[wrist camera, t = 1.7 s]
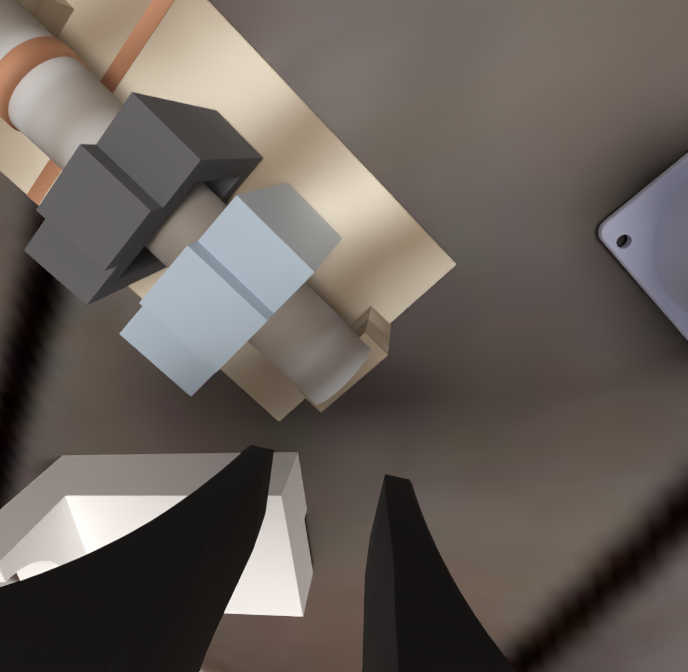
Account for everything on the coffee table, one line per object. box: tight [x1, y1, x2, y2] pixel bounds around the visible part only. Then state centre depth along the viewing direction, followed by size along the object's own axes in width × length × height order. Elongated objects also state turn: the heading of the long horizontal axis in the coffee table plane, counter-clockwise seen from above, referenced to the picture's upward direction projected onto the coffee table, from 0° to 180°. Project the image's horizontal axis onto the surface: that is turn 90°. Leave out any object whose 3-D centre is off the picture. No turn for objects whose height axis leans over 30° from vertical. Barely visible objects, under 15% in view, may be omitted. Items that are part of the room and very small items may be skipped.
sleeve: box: [120, 183, 342, 396], centre depth 17 cm, size 3×6×7 cm, turn 135°
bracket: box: [0, 452, 313, 616], centre depth 23 cm, size 13×7×8 cm, turn 96°
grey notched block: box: [24, 92, 263, 305], centre depth 16 cm, size 2×6×7 cm, turn 135°
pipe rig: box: [0, 0, 456, 421], centre depth 18 cm, size 18×11×5 cm, turn 45°
